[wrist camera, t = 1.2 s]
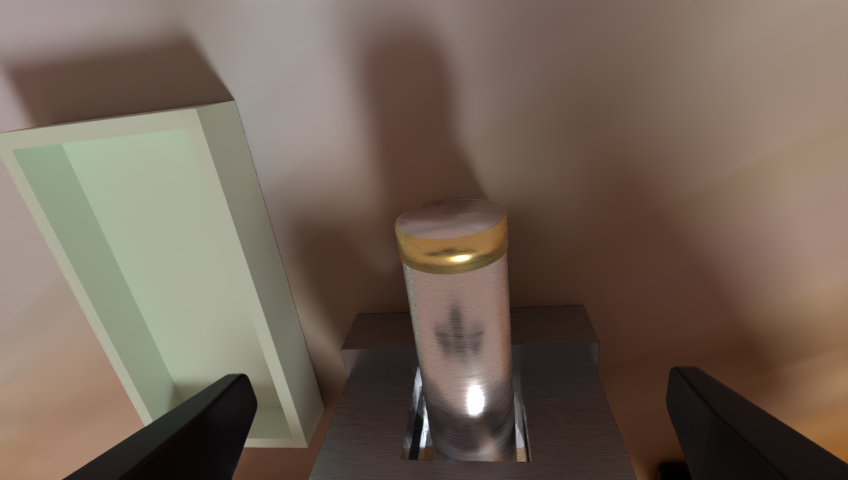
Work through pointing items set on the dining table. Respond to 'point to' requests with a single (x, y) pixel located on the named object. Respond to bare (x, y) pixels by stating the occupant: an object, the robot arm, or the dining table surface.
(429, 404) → the gold capped cylinder
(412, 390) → the clevis block
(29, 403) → the dining table surface
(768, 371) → the dining table surface
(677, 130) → the dining table surface
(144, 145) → the tray
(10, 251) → the dining table surface
